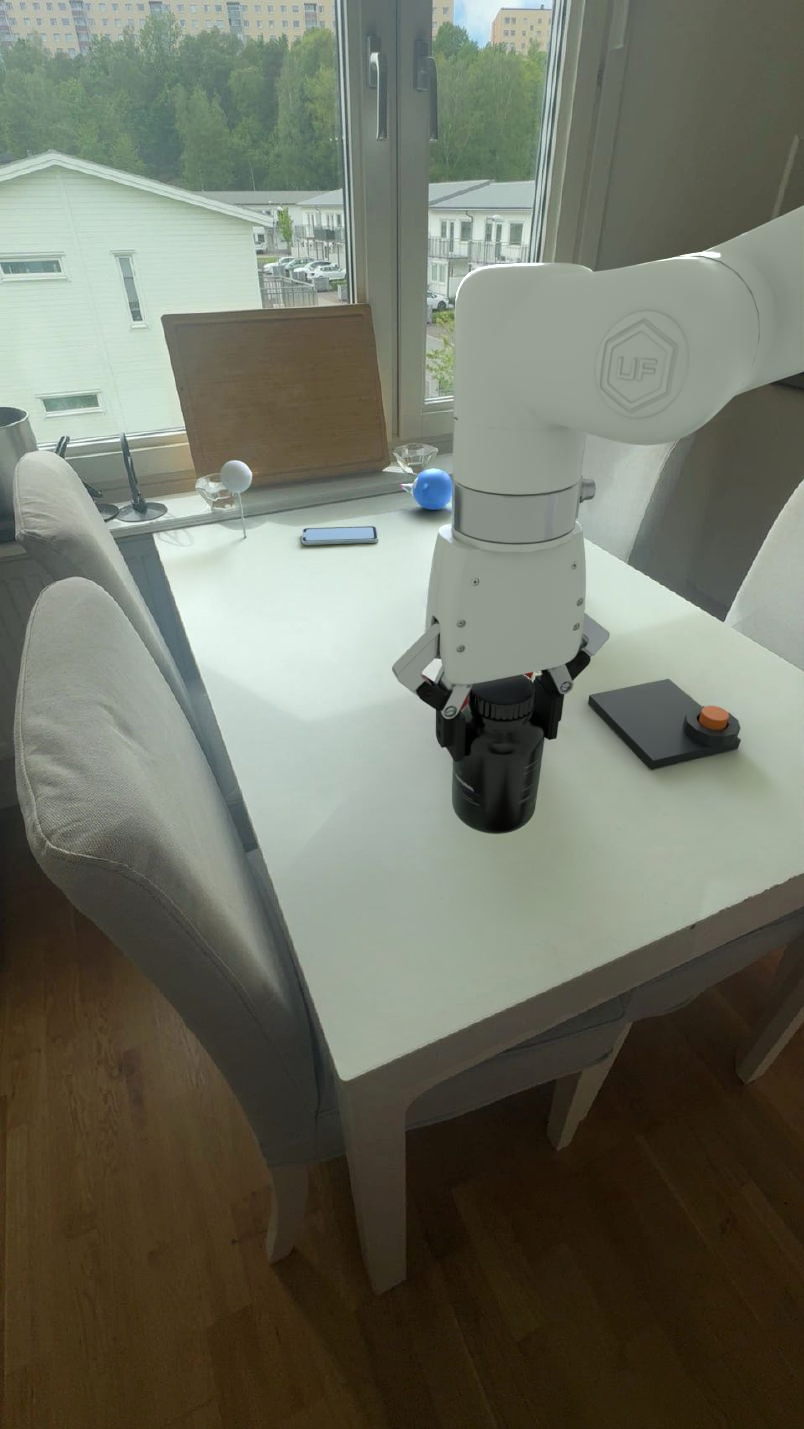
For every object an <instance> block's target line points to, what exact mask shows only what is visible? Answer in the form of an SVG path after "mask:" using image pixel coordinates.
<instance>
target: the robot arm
mask: <svg viewBox="0 0 804 1429" xmlns="http://www.w3.org/2000/svg"><path fill="white" fill-rule="evenodd" d="M453 328H454V329H453V330H454V331H453V391H452V392H453V395H452V398H453V399H452V477H451V481H452V496H451V523H449V524H445V525H442V526H440V527H439V529H438V531H437V535H436V540H435V544H434V549H433V553H432V560H431V566H430V573H429V580H428V588H427V597H426V598H427V599H426V609H425V626H424V628H425V630H424V633H423V634H422V635H421V636H420V637H419V638H418V639H417V640H416V641H415V642H414V643H413V644H412V645H411V646H410V647H409V648H408V649H407V651H405V652H403V654H402V655H401V656H400V657H399V658H398V659H397V660H396V661H395V662H394V663H393V665H392V666H391V671H392V673H393V675H394V676H395V678H396V680H397V681H398V682H399V683H400V684H401V685H403V686H404V687H405V688H406V689H407V690H408V691H410V692H411V693H413V694H415V695H416V696H417V697H418V698H419V699H420V700H421V701H422V702H423V703H425V704H427V705H428V706H430V707H431V708H433V710H435V738H436V740H437V743H438V745H439V747H440V748H441V749H443V748H444V749H446V750H447V752H448V753H449V755H450V756H451V758H452V761H453V760H454V761H455V762H458V761H462V760H463V758H465V731H466V719H465V716H464V715H463V713H462V712H461V710H460V708H461V706H462V705H463V703H464V701H465V699H466V697H467V695H468V693H469V691H470V689H471V687H472V686H473V684H476V683H482V682H487V681H492V680H496V679H501V678H506V677H511V676H516V675H521V674H526V673H531V672H533V673H535V672H540V673H541V674H538V675H534V680H532V682H533V683H534V686H535V687H536V697H535V702H536V706H535V710H536V711H537V713H538V714H539V715H540V717H541V718H542V721H543V723H544V726H545V740H548V741H551V740H556V739H557V737H558V733H559V732H558V730H559V722H561V721H562V716H563V709H564V701H565V695H567V694H568V693H570V692H571V691H572V690H573V688H574V684H575V683H574V681H575V680H576V678H577V677H578V676H580V674H581V673H582V672H583V671H584V670H586V668H587V667H588V666H589V665H590V663H591V660H592V659H591V658H592V656H593V657H594V656H595V655H596V654H597V653H598V651H600V649H601V648H603V646H604V645H605V644H606V643H607V642H608V640H609V639H610V636H611V634H610V632H609V631H608V630H607V629H606V628H605V627H603V626H602V625H601V624H600V623H599V622H597V621H596V620H595V619H593V618H592V617H591V616H590V615H588V614H587V613H586V612H585V610H586V597H587V596H586V595H587V565H586V562H587V561H586V560H587V559H586V550H585V539H584V531H583V530H584V529H583V527H582V525H581V524H580V523H579V521H577V519H578V518H579V511H580V510H579V509H580V504H582V503H583V502H584V501H590V500H593V499H594V497H595V495H596V490H597V487H596V482H595V480H594V478H592V477H591V476H589V477H583V475H582V472H583V465H584V464H583V463H584V456H585V446H586V439H587V434H588V435H591V436H596V437H598V438H602V439H604V440H609V441H613V442H617V443H621V444H627V445H632V446H633V445H634V446H658V445H664V444H668V443H672V442H675V441H678V440H681V439H683V438H686V437H688V436H689V435H691V434H693V433H694V432H696V431H698V430H699V429H701V428H702V427H703V426H705V425H706V424H707V423H708V422H710V421H711V420H712V419H713V418H714V417H715V416H716V415H717V414H718V413H719V412H721V410H722V409H723V408H724V407H725V406H727V404H728V403H729V402H730V401H731V400H732V399H733V398H734V397H735V396H738V395H741V394H743V393H746V392H748V391H751V390H754V389H757V388H760V387H763V386H766V385H768V384H771V383H774V382H777V381H780V380H783V379H785V378H786V379H787V378H788V377H792V376H795V375H798V374H801V373H803V372H804V205H801V206H800V207H797V208H795V209H793V210H791V211H789V212H787V213H784V214H783V215H781V216H779V217H776V218H774V219H771V220H770V221H768V222H766V223H763V224H761V225H759V226H757V227H755V228H752V229H751V230H748V231H746V232H744V233H742V234H739V235H737V236H735V237H733V238H731V239H728V240H727V241H724V242H722V243H720V244H717V245H715V246H713V247H710V248H708V249H706V250H703V251H701V252H693V253H688V254H687V253H686V254H682V255H677V256H674V257H670V258H664V259H658V260H654V261H649V262H644V263H643V262H642V263H639V264H633V265H629V266H624V267H623V266H622V267H619V268H611V269H605V270H598V271H597V270H596V271H593V270H592V269H591V268H589V267H586V266H585V265H583V264H577V263H572V262H519V263H504V264H503V263H502V264H492V265H487V266H483V267H478V268H476V269H474V270H472V271H470V272H468V274H467V275H465V277H463V279H462V281H461V282H460V284H459V287H458V289H457V291H456V296H455V303H454V322H453ZM435 659H436V660H441V661H440V662H441V667H440V668H439V671H438V673H437V675H436V677H435V679H434V680H433V679H431V678H430V677H428V676H427V675H425V674H423V671H424V670H425V669H426V668H427V667H428V666H429V665H430V664H431V663H432V662H433V661H434V660H435Z"/></svg>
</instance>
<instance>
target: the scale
mask: <svg viewBox="0 0 804 1429" xmlns="http://www.w3.org/2000/svg"><path fill="white" fill-rule="evenodd" d="M587 704H588V706H589V707H590V708H591V709H592V710H593V711H594V712H595V713H596V714H597V715H598V716H599V717H600V718H601V719H602V720H603V722H604V723H605V724H606V725H607V726H608V727H609V728H610V729H611V730H613V732H614V733H615V734H616V735H617V736H618V737H619V738H620V739H621V740H622V741H623V742H624V743H625V745H626V746H628V748H629V749H630V750H631V751H632V752H633V753H634V754H635V756H637V757H638V758H639V759H640V760H641V762H642V763H643V764H645V766H646V767H648V769H649V770H650V771H652V770H656V769H660V768H664V767H669V766H673V765H676V764H681V763H686V762H690V761H694V760H697V759H698V760H699V759H701V758H707V757H711V756H715V755H717V754H718V755H719V754H722V753H727V752H731V751H735V750H738V749H739V748H740V744H741V742H742V739H741V738H740V737H739V734H740V731H741V725H740V721H739V719H738V718H737V717H735V716H734V715H733V714H732V713H730V712H728V711H727V712H728V714H729V718H728V721H727V724H726V727H725V728H724V729H723V730H711V729H708V728H706V727H703V726H702V725H701V724H700V723H699V718H700V714H701V711H702V709H703V708H704V707H706V706H705V705H704V706H703V705H701V704H700V703H698V702H697V701H696V700H695V699H694V698H692V697H691V696H690V695H689V694H688V693H686V691H684V690H683V689H682V688H680V687H679V686H678V685H677V684H676V683H675V682H674V681H672V679H670V678H664V679H659V680H655V681H650V682H646V683H641V684H635V685H631V686H626V687H621V688H617V689H611V690H607V691H602V692H596V693H592V694H589V695H588V699H587Z"/></svg>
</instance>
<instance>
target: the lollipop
mask: <svg viewBox="0 0 804 1429" xmlns="http://www.w3.org/2000/svg"><path fill="white" fill-rule="evenodd" d="M219 480H220V482H221V484H222V485H223V487H224V488H225V489H226V490H228V491H229V492H231V493H233V494H234V493H235V494H237V499H238V506H239V511H240V517H241V524H242V531H243V538H247V536H248V535H247V531H246V525H245V518H244V517H245V516H244V512H243V511H244V510H243V505H242V504H243V503H242V498H241V493H244V492H246V491H247V490H248V489H249V488H250V486H251V484H252V480H253V473H252V471H251V469H250V468H249V466H248V465H247V464H246V463H244V462H243V461H241V460H230V461H227V462H226V463H225V464H224V465H223V466H222V467H221V469H220V472H219Z"/></svg>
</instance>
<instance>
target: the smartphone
mask: <svg viewBox="0 0 804 1429" xmlns="http://www.w3.org/2000/svg"><path fill="white" fill-rule="evenodd" d="M378 541H379V535H378V528H377V526H375V525H364V526H363V525H361V526H330V527H329V526H326V527H325V526H324V527H305V528H303V529H302V532H301V544H302V545H304V546H305V545H306V546H312V545H313V546H314V545H315V546H316V545H343V544H344V545H345V544H347V545H348V544H373V543H378Z"/></svg>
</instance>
